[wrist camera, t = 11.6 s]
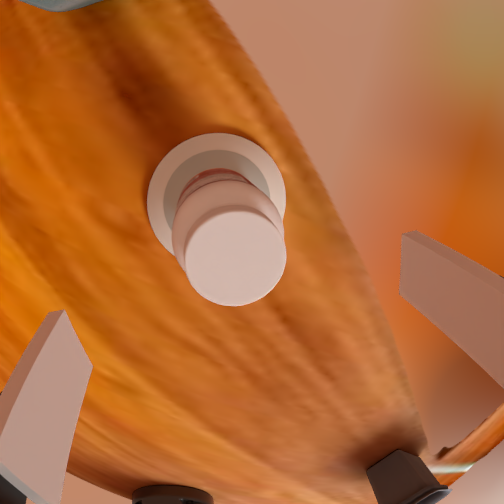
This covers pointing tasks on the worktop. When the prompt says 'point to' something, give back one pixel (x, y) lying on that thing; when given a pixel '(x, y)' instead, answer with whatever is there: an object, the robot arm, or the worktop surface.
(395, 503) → the storage bin
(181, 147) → the coaster
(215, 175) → the pill bottle
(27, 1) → the flower pot
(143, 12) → the worktop surface
